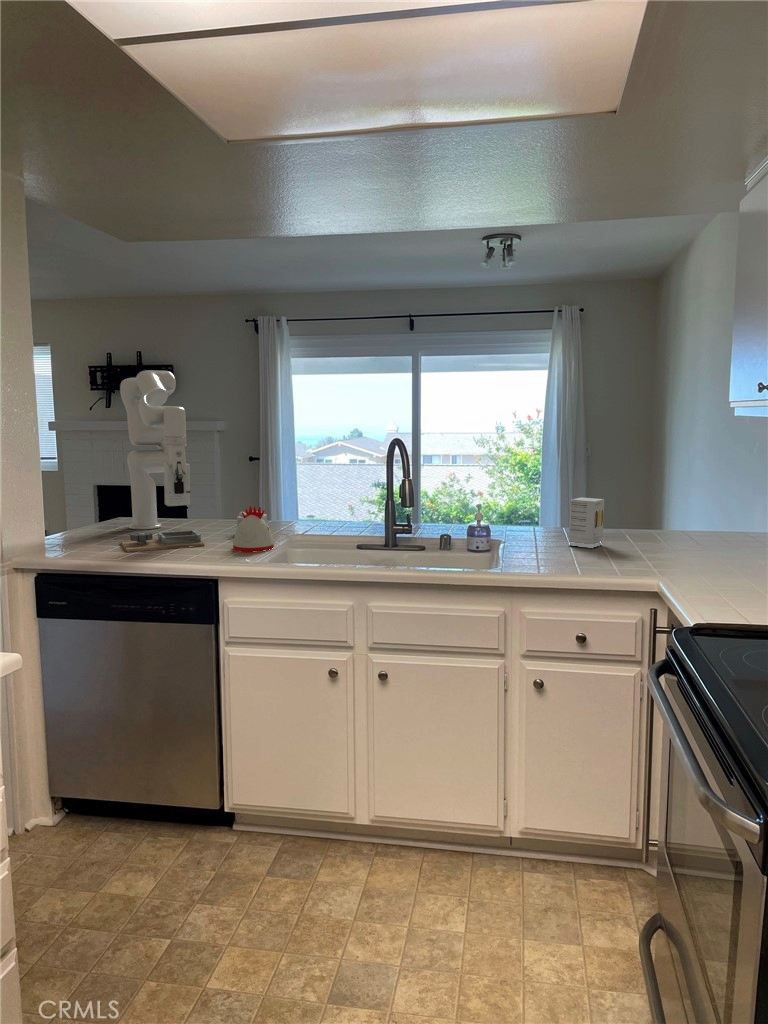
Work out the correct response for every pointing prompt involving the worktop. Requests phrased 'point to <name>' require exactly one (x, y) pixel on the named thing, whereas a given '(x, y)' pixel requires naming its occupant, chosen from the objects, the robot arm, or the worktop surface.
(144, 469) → the robot arm
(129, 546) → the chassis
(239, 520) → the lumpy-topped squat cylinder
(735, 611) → the worktop surface
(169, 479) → the skincare box
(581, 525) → the supplement box
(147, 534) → the wheel
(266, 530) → the white red crested helmet
